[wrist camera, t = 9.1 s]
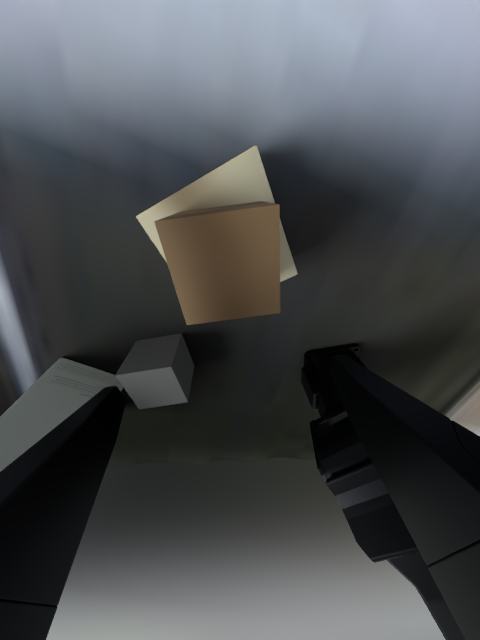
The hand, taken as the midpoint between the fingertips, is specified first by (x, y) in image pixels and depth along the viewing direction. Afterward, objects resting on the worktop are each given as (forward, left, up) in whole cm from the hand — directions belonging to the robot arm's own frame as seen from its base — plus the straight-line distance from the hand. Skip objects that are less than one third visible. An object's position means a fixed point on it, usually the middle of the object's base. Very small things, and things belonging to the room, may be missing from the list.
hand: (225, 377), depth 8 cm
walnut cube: (-1, -3, -8) cm, 9 cm away
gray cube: (+8, +8, -12) cm, 17 cm away
